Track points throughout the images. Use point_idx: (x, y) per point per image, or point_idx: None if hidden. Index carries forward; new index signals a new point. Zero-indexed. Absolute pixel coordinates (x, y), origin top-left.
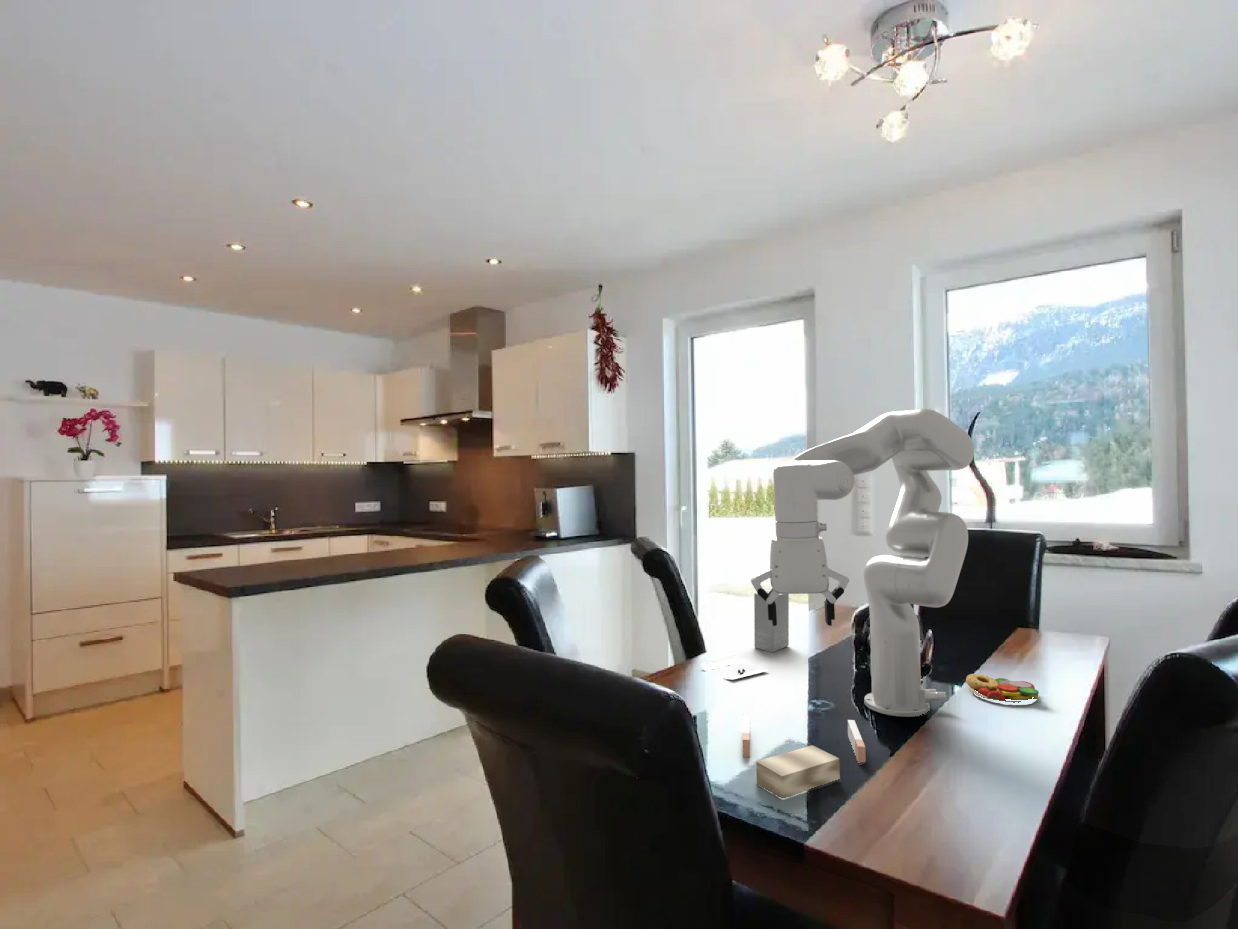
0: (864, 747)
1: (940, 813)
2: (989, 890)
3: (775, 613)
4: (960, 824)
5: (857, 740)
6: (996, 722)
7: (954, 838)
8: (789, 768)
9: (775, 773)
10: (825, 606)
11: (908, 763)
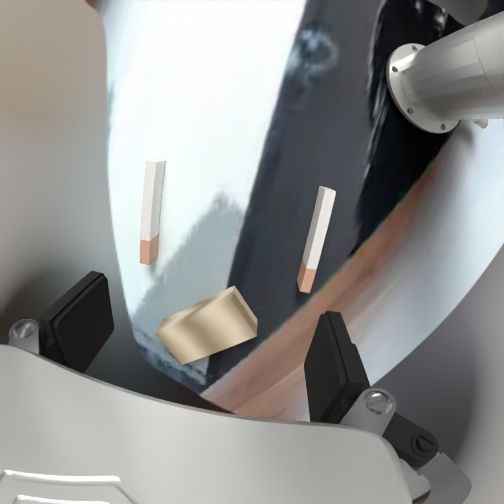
0: (308, 292)
1: None
2: None
3: (90, 357)
4: None
5: (308, 272)
6: (496, 170)
7: None
8: (191, 352)
9: (176, 357)
10: (324, 387)
11: (359, 277)
